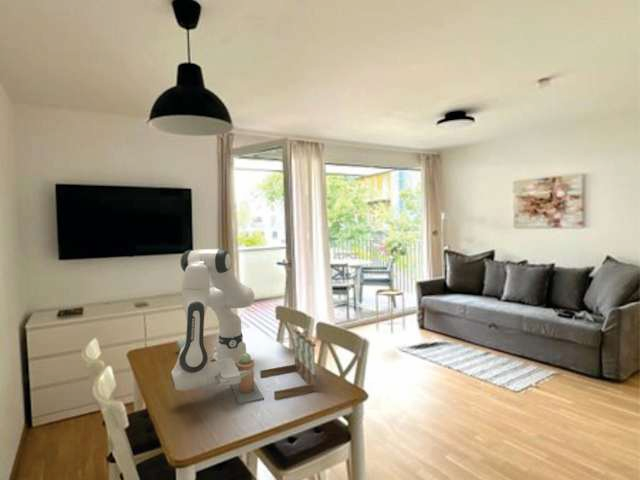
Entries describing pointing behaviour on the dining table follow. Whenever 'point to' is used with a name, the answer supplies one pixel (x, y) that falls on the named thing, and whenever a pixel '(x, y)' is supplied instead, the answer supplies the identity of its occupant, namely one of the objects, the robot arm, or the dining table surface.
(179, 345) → the ceramic mug
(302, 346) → the brown wooden frame
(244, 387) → the seedling pot
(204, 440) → the dining table surface
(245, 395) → the potting mat
